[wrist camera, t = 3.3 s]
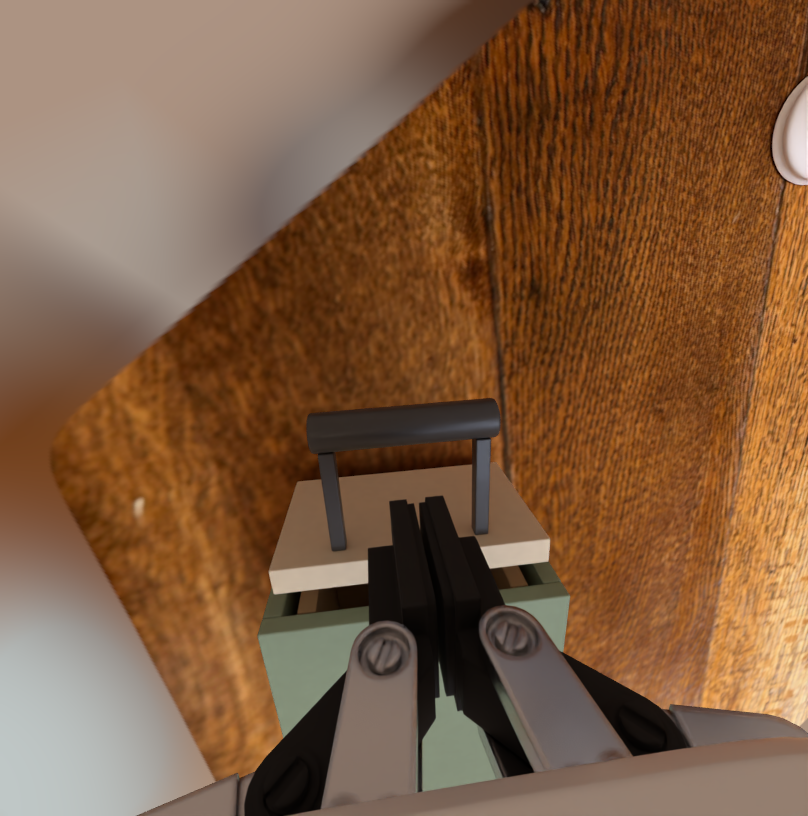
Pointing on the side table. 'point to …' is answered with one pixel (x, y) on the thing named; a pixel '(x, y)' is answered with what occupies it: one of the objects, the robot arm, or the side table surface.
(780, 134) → the chess piece
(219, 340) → the side table surface
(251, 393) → the side table surface
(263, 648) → the cabinet
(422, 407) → the drawer
